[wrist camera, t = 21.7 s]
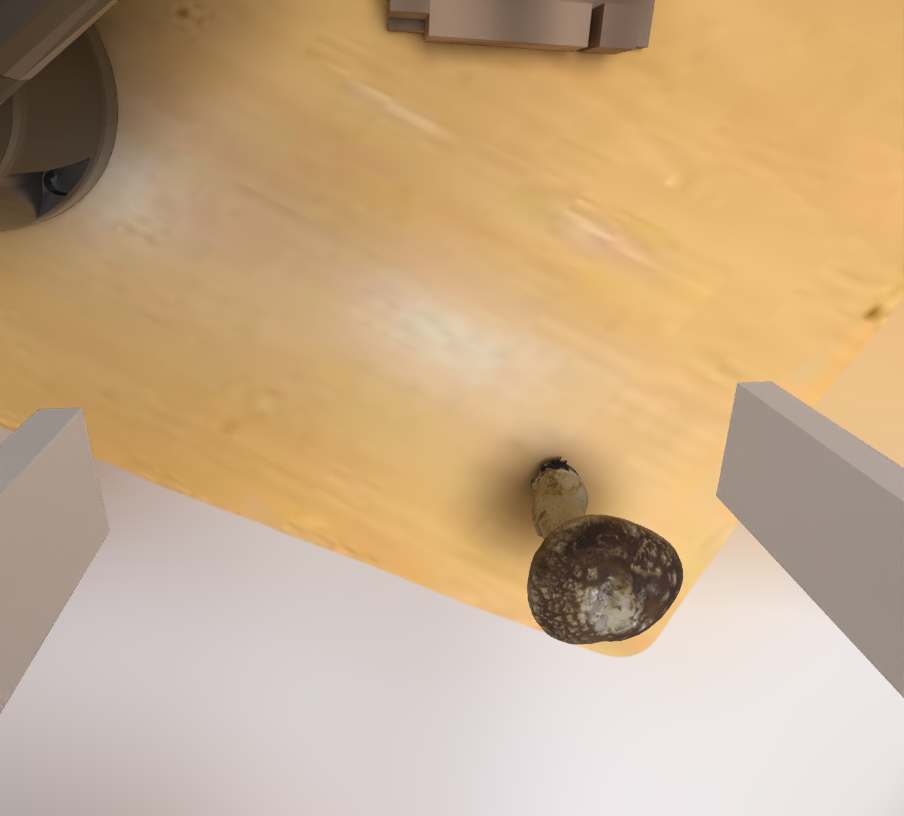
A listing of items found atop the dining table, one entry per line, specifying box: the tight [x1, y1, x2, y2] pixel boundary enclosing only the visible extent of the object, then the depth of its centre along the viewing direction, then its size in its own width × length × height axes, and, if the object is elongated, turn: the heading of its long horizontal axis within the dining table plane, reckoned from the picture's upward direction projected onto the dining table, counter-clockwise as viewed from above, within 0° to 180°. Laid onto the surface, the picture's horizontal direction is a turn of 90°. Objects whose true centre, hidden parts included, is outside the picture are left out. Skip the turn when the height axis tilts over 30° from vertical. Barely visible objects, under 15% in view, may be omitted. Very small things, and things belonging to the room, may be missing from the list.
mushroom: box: [527, 457, 683, 644], centre depth 45 cm, size 9×9×15 cm
